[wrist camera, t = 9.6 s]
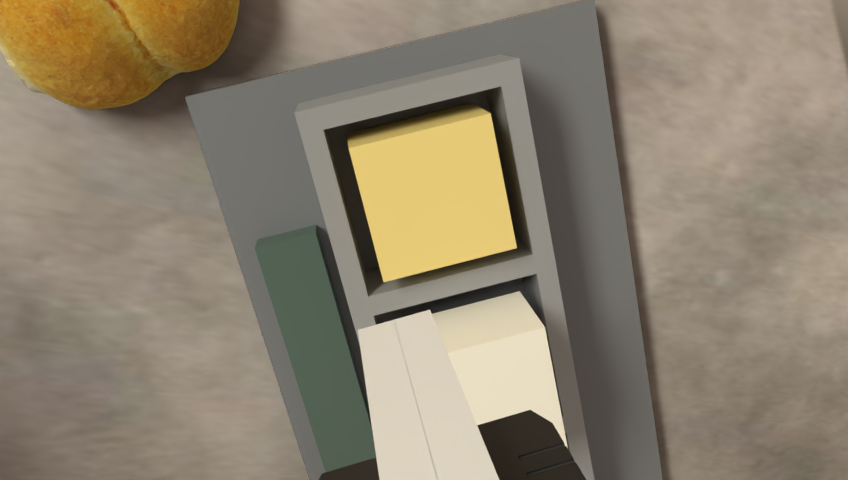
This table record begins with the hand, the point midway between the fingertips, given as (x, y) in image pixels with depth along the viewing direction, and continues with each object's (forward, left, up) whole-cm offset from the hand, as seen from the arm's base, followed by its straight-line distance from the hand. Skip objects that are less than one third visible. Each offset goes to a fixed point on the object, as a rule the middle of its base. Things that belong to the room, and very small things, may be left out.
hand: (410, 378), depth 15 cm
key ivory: (+2, -7, -12) cm, 14 cm away
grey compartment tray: (+2, -10, -16) cm, 19 cm away
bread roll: (-7, +10, -17) cm, 21 cm away
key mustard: (+2, 0, -15) cm, 15 cm away
